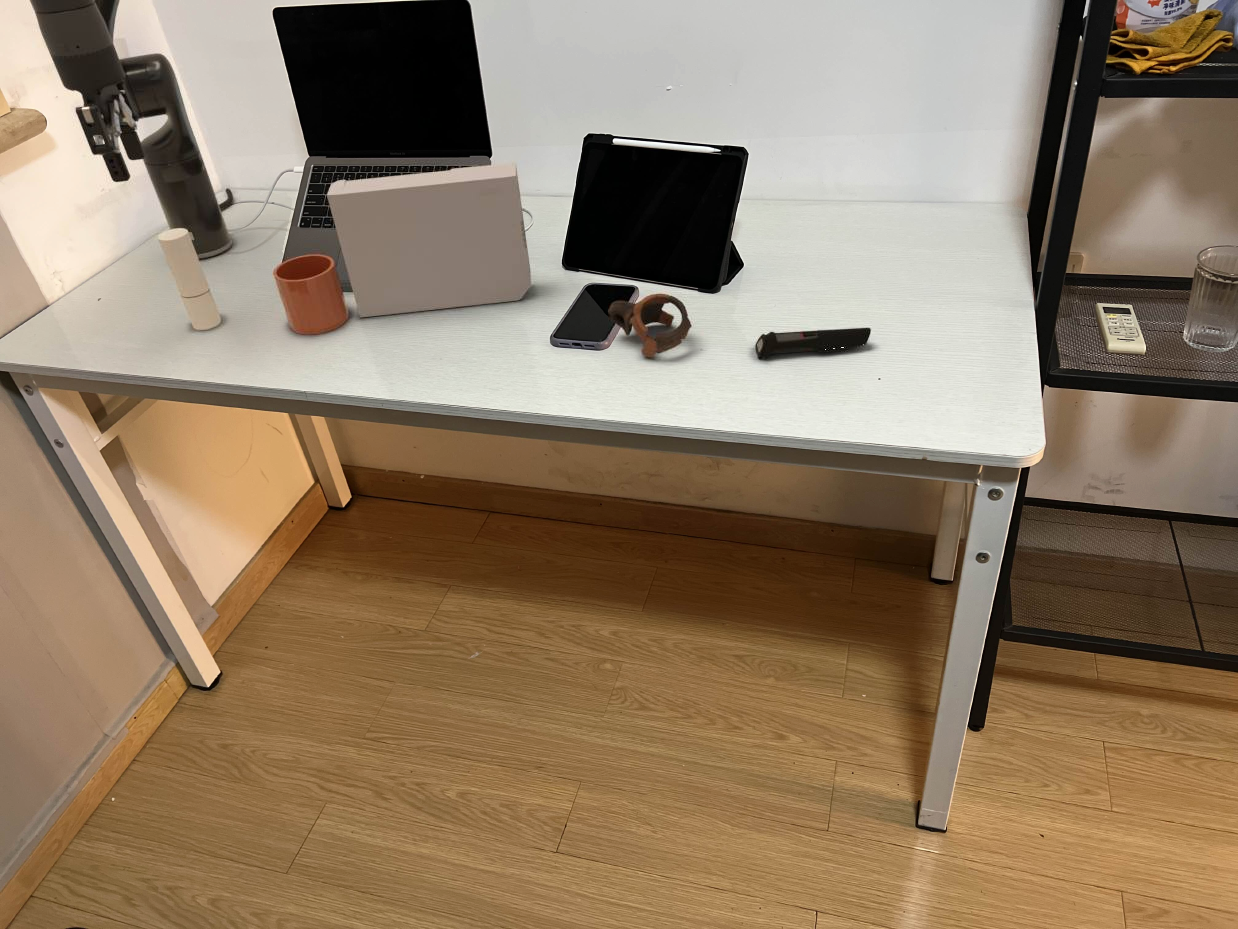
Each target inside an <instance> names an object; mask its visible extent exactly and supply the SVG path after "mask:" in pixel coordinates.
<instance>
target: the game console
mask: <svg viewBox="0 0 1238 929" xmlns="http://www.w3.org/2000/svg"><path fill="white" fill-rule="evenodd" d="M326 197H327V201H328V205H329V208H330V213H331V215H332V220H333V223H334V225H335V230H336V234H337V238H338V241H339V245H340V249H341V253H342V256H343V259H344V264H345V267H346V271H347V275H348V278H349V282H350V287H351V289H352V293H353V296H354V300H355V305H356V308H357V311H358V315H359V318H368V317H377V316H378V317H379V316H388V315H395V314H397V315H398V314H405V313H416V312H422V311H423V312H425V311H433V310H443V309H453V308H461V307H469V306H479V305H490V304H497V303H498V304H499V303H508V302H516V301H520V300H521V299H522V298H523V297H524V296H525V294H526V293H527V291H529V289H530V288H531V286H532V275H531V273H532V272H531V264H530V257H529V250H528V243H527V242H528V241H527V235H526V228H525V220H524V212H523V206H522V198H521V192H520V183H519V177H518V169H517V162H516V161H515V162H509V163H498V164H490V165H489V164H487V165H477V166H467V167H455V168H451V169H449V170H441V171H439V170H438V171H432V172H422V173H421V172H420V173H411V174H410V173H409V174H401V175H391V176H382V177H371V178H362V179H353V180H352V179H351V180H346V179H340V180H337V181H335V182H332V183H330V187H329V189H328V191H327V193H326Z"/></svg>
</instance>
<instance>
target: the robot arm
mask: <svg viewBox="0 0 1238 929" xmlns="http://www.w3.org/2000/svg"><path fill="white" fill-rule="evenodd" d="M120 1H121V0H29V2H30V4H31V7H32V9H33V11H34V14H35V17H36V21H37V25H38V28H39V30H40V34H41V36H42V38H43V40H44V42H45V45H46V48H47V50H48V53H49V55H50V57H51V60H52V62H53V65H54V66H55V69H56V72H57V74H58V77H59V79H60V81H61V84H62V85H63V87H64V88H65V89H66V90H68V91H71V92H75V91H76V92H78V93H80V94H81V98H82V101H83V106H76V107H75V113H76V116H77V119H78V121H79V123H80V126H81V129H82V131H83V133H84V136H85V139H86V142H87V144H88V146H89V149H90V151H91V153H92V155H93V156H102V158H103V161H104V163H105V166H106V169H107V171H108V173H109V176H110V178H111V180H112V181H113V182H114V183H122V182H123V183H124V182H128V181H129V180H130V179H131V174H130V171H129V170H128V167H127V164H126V162H125V158H124V156H123V154H122V152H121V148H120V143H119V142H120V141H121V144H122V147H123V149H124V151H125V153H126V157H127V158H128V160H130V161H138V160H139V161H140V160H142V162H143V163H144V167H145V168H146V169H145V170H146V171H147V174H148V177H149V179H150V181H151V184H152V186H153V189H154V191H155V194H156V197H157V200H158V202H159V204H160V205H159V206H160V207H161V210H162V212H163V214H164V215H163V216H164V217H165V220H166V223H167V225H168V228H169V230H171V229H176V228H184V229H187V230H188V233H189V235H190V238H191V241H192V243H193V246H194V249H195V251H196V254H197V257H198V259H199V260H200V259H202V260H203V259H207V258H211V257H214V256H218V255H220V254H223V253H224V252H226V251H227V250H228V249H230V248H231V247H232V245H233V240H232V237H231V236H230V234H229V233H230V232H229V230H228V228H227V225H226V224H227V223H226V222H225V218H224V216H223V212H222V210H223V209H225V208H227V207H229V205H231V204H232V202H233V200H234V196H233V192H232V190H231V189H230V188H228V187H227V188H226V189H225V193H226V195H227V199H226V200H224V201H223V202H221V203H219V201H218V198H217V196H216V193H215V190H214V187H213V184H212V182H211V178H210V176H209V173H208V170H207V168H206V164H205V162H204V159H203V156H202V153H201V150H200V147H199V144H198V142H197V139H196V136H195V133H194V130H193V128H192V126H191V122H190V120H189V116H188V114H187V109H186V107H185V103H184V99H183V96H182V93H181V88H180V85H179V82H178V79H177V76H176V74H175V71H174V68H173V66H172V64H171V62H170V60H169V59H168V58H167V56H165V55H164V54H162V53H157V52H155V53H147V54H143V55H136V56H129V57H124V58H123V57H122V58H119V55H118V52H117V50H116V47H115V45H114V33H115V25H116V17H117V12H118V9H119V5H120ZM165 115H166V116H167V119H166V120H165V122H164V124H162V126H161V127H160V128H158V129H157V130H156V131H154V132H153V133H151V134H149V135H148V136H146V137H144V138H143V139H142V140H140V137H139V134H138V132H137V130H138V124H137V123H136V122H139V120H143V119H149V118H155V117H160V116H165ZM119 139H120V141H119Z"/></svg>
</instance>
